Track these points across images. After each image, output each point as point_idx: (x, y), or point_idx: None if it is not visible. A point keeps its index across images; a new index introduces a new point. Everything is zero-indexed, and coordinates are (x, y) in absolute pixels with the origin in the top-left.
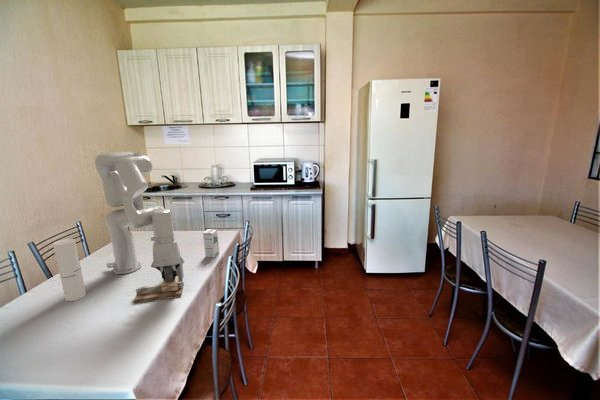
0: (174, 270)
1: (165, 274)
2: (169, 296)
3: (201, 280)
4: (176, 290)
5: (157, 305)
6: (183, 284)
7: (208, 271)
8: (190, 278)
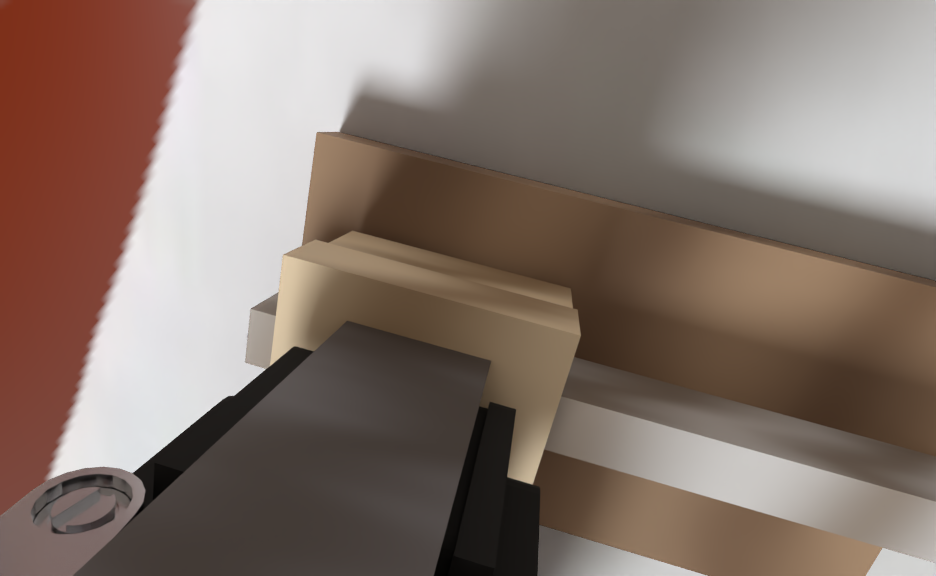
0: (123, 487)
1: (428, 471)
2: (486, 169)
3: (100, 407)
4: None
5: (681, 30)
6: None
7: None
8: None
